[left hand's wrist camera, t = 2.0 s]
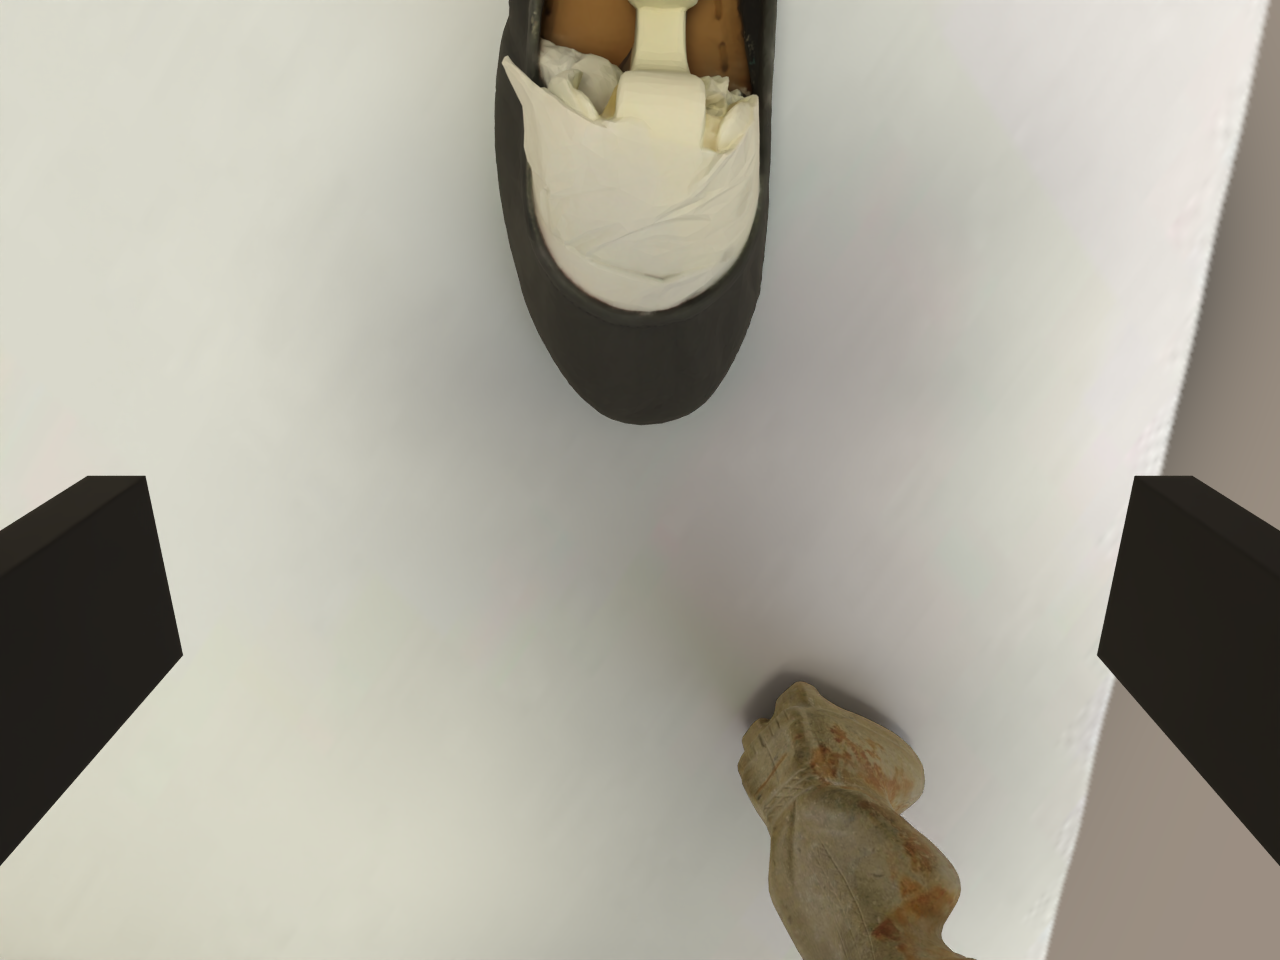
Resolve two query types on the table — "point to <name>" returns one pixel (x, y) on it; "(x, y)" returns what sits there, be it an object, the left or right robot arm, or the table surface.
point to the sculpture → (846, 834)
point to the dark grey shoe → (637, 189)
